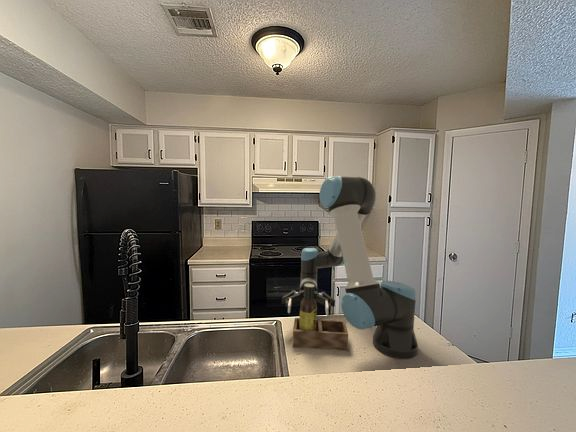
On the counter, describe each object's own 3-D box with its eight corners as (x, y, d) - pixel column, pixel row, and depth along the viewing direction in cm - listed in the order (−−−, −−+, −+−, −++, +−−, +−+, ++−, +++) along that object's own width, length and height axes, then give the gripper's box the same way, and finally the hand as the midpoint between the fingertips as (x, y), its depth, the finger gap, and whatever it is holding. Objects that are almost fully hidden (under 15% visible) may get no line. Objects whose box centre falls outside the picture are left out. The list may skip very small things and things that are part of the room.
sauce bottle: (316, 342, 99) (319, 288, 97) (299, 342, 99) (301, 288, 97) (314, 333, 105) (317, 282, 104) (298, 332, 105) (300, 282, 104)
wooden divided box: (344, 335, 106) (344, 320, 106) (347, 350, 96) (348, 334, 96) (294, 332, 108) (294, 317, 107) (292, 347, 98) (293, 330, 97)
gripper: (337, 299, 118) (343, 322, 97) (279, 296, 120) (273, 318, 99) (338, 282, 118) (344, 302, 97) (280, 279, 120) (273, 298, 99)
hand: (308, 310), depth 98 cm, fingers open, 13 cm apart
